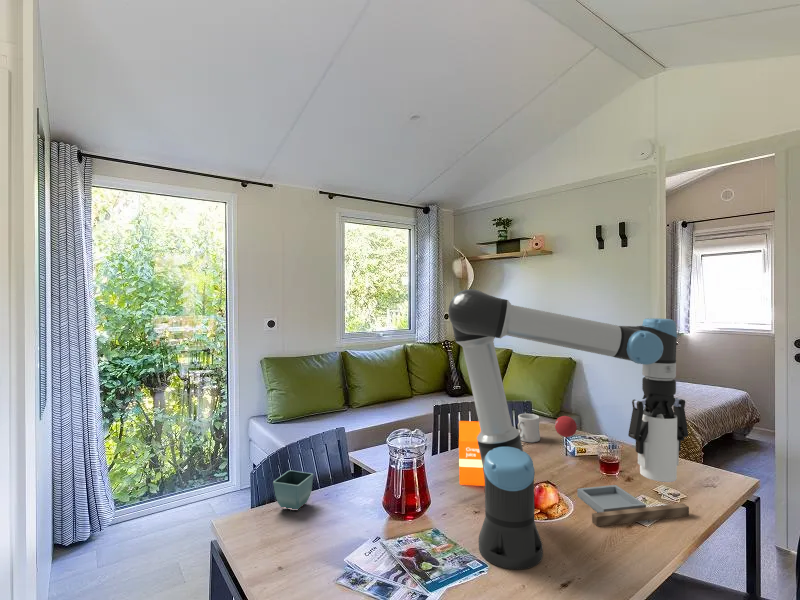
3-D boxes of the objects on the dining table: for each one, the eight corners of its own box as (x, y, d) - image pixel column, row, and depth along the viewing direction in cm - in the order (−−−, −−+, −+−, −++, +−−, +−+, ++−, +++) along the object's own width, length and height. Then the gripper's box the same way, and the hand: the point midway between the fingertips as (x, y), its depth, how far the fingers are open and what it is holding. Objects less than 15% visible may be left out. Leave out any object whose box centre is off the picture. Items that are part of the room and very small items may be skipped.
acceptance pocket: (603, 517, 120) (603, 509, 120) (577, 496, 133) (577, 488, 133) (645, 513, 122) (645, 504, 122) (615, 492, 135) (615, 484, 135)
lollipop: (562, 450, 172) (561, 412, 172) (580, 455, 166) (580, 416, 166) (551, 455, 167) (551, 416, 167) (570, 460, 161) (569, 420, 161)
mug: (525, 434, 192) (525, 412, 191) (544, 439, 185) (544, 416, 185) (509, 441, 184) (508, 417, 183) (527, 446, 177) (527, 422, 177)
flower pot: (299, 516, 124) (298, 485, 124) (272, 512, 127) (272, 481, 127) (314, 502, 133) (314, 473, 133) (289, 498, 136) (289, 469, 135)
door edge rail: (596, 526, 116) (596, 516, 116) (592, 522, 118) (592, 513, 118) (688, 515, 120) (688, 506, 120) (683, 512, 122) (683, 503, 122)
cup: (682, 483, 109) (683, 419, 108) (646, 480, 110) (647, 418, 110) (668, 470, 117) (669, 411, 116) (635, 467, 118) (636, 409, 118)
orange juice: (486, 486, 141) (485, 425, 141) (459, 484, 143) (458, 424, 143) (485, 476, 149) (484, 418, 149) (459, 474, 151) (458, 417, 150)
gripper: (632, 382, 108) (631, 473, 108) (706, 379, 111) (705, 467, 111) (612, 376, 115) (612, 461, 115) (683, 374, 118) (682, 456, 119)
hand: (657, 464), depth 113 cm, fingers closed on cup, 8 cm apart
